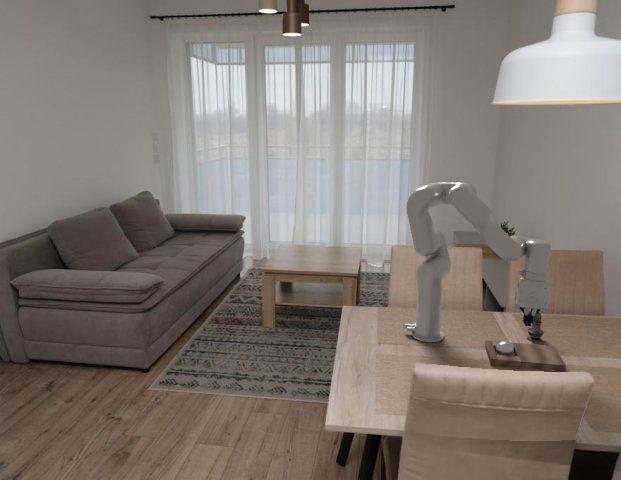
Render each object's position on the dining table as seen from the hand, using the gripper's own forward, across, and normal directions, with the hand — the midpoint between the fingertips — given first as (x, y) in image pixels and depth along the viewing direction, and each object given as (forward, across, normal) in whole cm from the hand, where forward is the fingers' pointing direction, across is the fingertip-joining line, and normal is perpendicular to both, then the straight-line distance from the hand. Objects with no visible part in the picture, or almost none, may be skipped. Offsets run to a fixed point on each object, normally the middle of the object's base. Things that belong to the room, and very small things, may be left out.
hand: (527, 324), depth 173 cm
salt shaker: (+13, +8, +18) cm, 23 cm away
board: (+13, 0, 0) cm, 13 cm away
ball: (+10, -6, 0) cm, 12 cm away
